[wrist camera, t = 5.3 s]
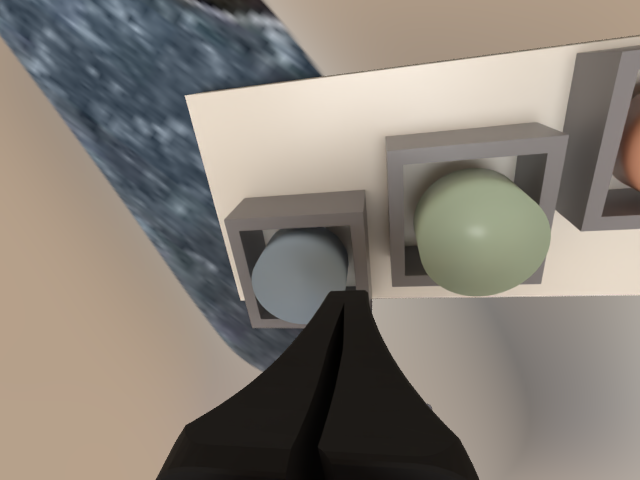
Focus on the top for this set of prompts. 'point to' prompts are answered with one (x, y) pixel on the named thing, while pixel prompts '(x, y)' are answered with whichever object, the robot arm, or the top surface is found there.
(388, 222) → the panel
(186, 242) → the top surface
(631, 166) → the button terracotta
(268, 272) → the button blue
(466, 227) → the button green
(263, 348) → the top surface
